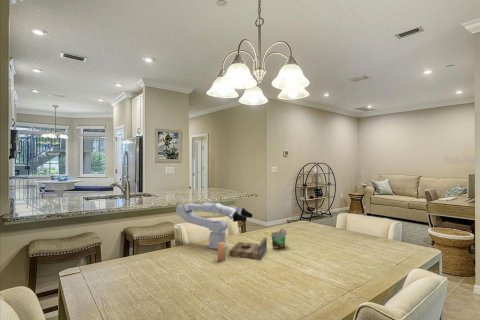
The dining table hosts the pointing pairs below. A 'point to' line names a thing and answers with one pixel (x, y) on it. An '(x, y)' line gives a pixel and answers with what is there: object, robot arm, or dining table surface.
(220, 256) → the peg
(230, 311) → the dining table surface
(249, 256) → the socket block
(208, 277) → the dining table surface
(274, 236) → the food container
